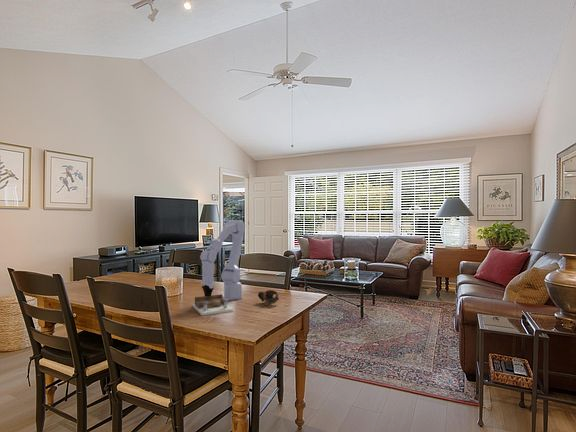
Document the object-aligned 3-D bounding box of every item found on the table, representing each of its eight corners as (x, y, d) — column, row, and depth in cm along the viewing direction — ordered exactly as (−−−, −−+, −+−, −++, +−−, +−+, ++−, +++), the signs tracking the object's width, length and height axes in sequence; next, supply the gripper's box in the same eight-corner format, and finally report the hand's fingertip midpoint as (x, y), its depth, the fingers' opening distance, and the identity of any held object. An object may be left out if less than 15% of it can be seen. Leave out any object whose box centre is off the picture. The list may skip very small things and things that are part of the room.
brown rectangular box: (221, 301, 177) (221, 294, 177) (227, 305, 169) (227, 298, 169) (194, 304, 171) (194, 297, 171) (199, 308, 163) (199, 301, 163)
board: (221, 302, 179) (221, 293, 179) (232, 311, 164) (232, 300, 164) (192, 306, 172) (192, 296, 172) (201, 315, 156) (202, 304, 156)
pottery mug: (280, 302, 183) (282, 291, 179) (273, 314, 175) (274, 303, 171) (260, 295, 186) (261, 284, 182) (252, 306, 178) (253, 295, 174)
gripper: (196, 271, 180) (196, 297, 180) (203, 276, 167) (203, 303, 167) (210, 271, 183) (209, 296, 183) (217, 275, 170) (217, 302, 170)
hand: (207, 299), depth 175 cm, fingers closed
